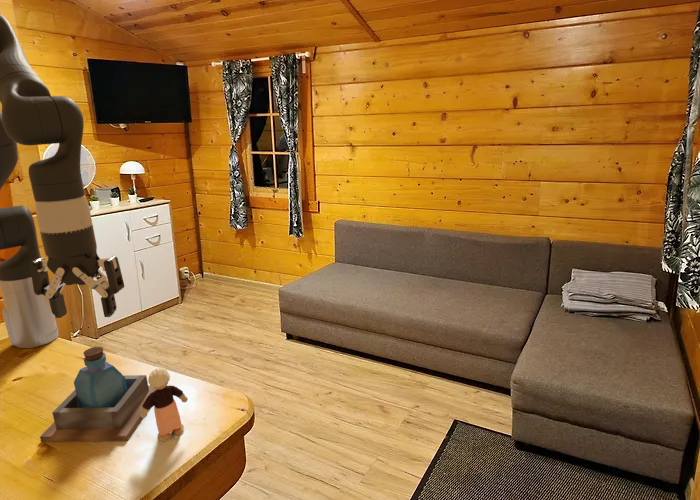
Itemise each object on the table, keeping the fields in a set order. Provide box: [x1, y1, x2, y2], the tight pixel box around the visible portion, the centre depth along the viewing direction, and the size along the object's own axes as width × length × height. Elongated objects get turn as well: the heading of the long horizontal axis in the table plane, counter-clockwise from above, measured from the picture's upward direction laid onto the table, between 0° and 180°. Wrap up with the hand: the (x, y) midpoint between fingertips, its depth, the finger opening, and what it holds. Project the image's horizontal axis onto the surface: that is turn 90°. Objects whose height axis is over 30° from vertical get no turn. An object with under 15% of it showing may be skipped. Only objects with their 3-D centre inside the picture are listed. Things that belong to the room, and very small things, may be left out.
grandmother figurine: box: [140, 367, 189, 442], centre depth 81 cm, size 8×4×13 cm, turn 141°
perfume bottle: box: [73, 346, 128, 408], centre depth 87 cm, size 6×6×12 cm
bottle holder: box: [39, 374, 157, 443], centre depth 88 cm, size 15×15×4 cm
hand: (85, 315), depth 83 cm, fingers open, 8 cm apart
